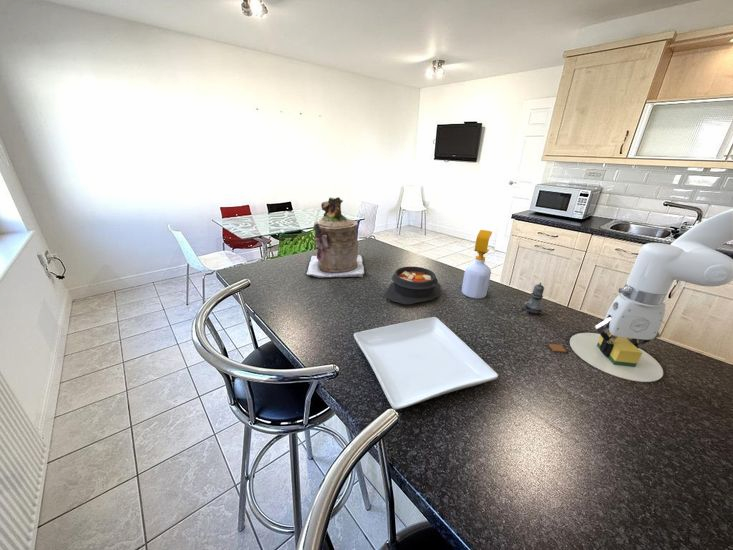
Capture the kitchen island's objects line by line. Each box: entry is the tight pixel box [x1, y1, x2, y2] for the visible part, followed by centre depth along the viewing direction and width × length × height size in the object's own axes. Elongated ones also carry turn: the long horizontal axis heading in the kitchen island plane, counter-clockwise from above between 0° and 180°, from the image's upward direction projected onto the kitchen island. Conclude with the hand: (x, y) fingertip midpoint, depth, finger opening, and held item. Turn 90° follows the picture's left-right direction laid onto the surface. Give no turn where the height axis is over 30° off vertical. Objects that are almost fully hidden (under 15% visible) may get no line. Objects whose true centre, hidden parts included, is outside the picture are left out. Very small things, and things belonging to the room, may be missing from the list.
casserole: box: [384, 265, 441, 305], centre depth 110 cm, size 25×19×8 cm
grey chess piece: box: [522, 282, 545, 315], centre depth 97 cm, size 6×6×12 cm
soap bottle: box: [461, 229, 493, 300], centre depth 108 cm, size 9×9×25 cm
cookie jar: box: [306, 196, 365, 279], centre depth 127 cm, size 25×25×32 cm
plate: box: [569, 332, 664, 383], centre depth 79 cm, size 20×20×1 cm
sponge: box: [597, 334, 642, 367], centre depth 78 cm, size 5×8×5 cm, turn 171°
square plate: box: [353, 316, 499, 410], centre depth 75 cm, size 27×27×4 cm
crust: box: [547, 343, 568, 353], centre depth 81 cm, size 4×3×2 cm
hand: (615, 354), depth 78 cm, fingers closed on sponge, 5 cm apart
